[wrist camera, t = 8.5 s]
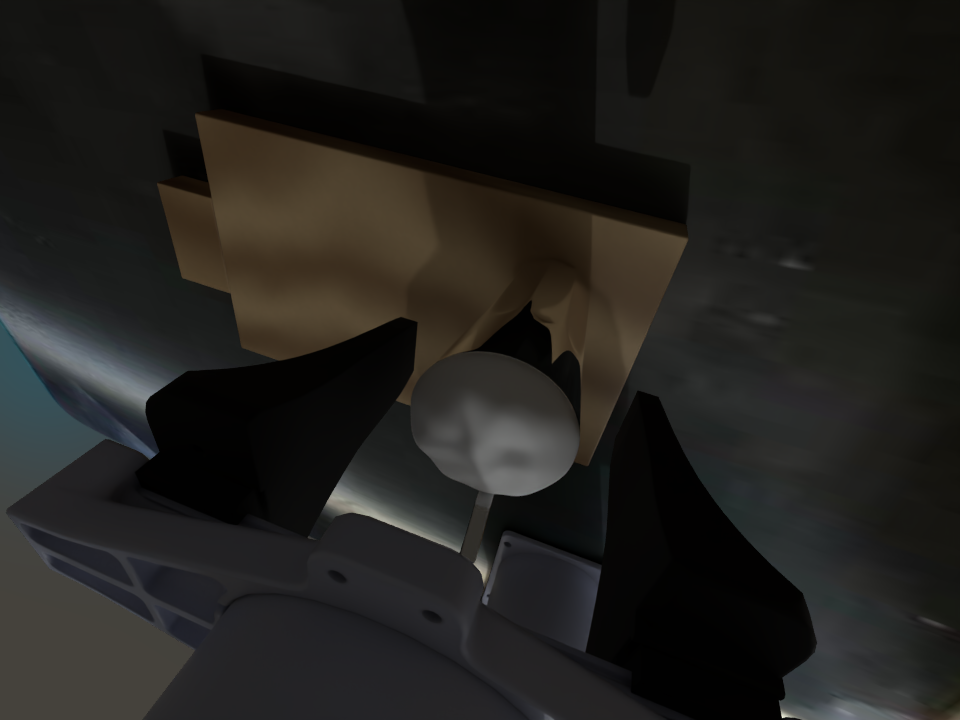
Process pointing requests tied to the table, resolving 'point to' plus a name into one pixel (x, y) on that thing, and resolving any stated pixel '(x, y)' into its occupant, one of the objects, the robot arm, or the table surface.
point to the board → (402, 249)
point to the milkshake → (509, 392)
